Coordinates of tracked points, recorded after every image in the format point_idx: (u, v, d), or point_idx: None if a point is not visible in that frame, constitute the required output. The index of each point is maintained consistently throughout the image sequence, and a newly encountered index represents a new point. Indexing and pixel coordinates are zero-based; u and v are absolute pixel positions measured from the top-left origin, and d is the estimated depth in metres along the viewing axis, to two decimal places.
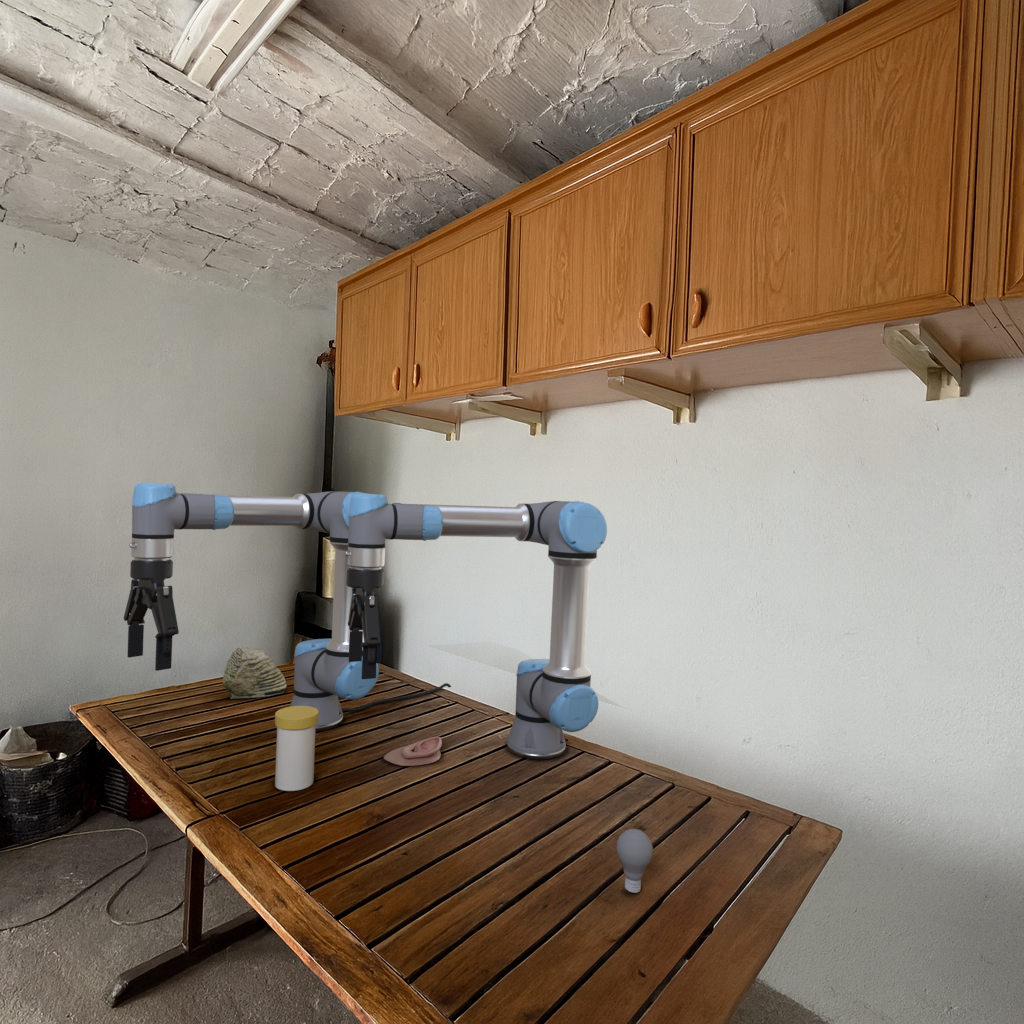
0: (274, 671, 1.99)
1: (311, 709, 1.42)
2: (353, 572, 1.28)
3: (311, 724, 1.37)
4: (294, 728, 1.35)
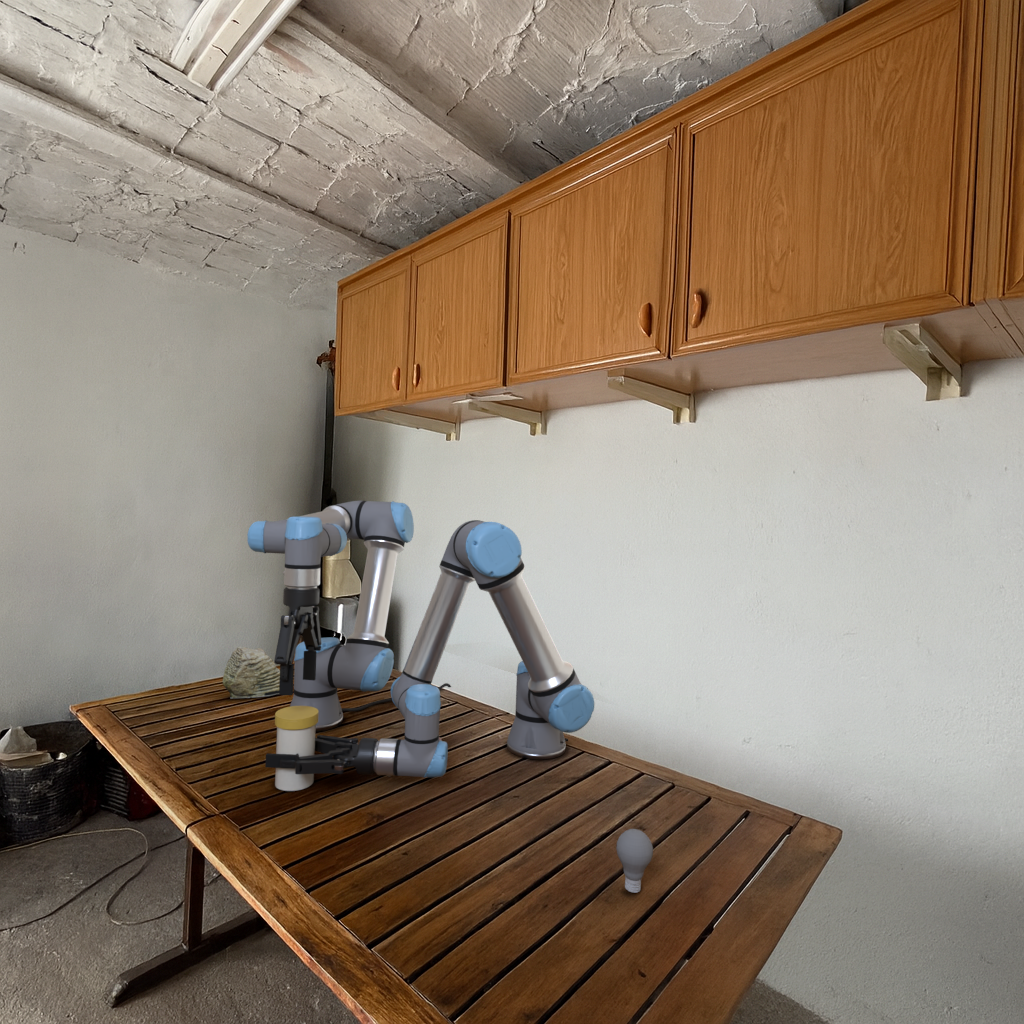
0: (274, 671, 1.99)
1: (311, 709, 1.42)
2: None
3: (311, 724, 1.37)
4: (294, 728, 1.35)
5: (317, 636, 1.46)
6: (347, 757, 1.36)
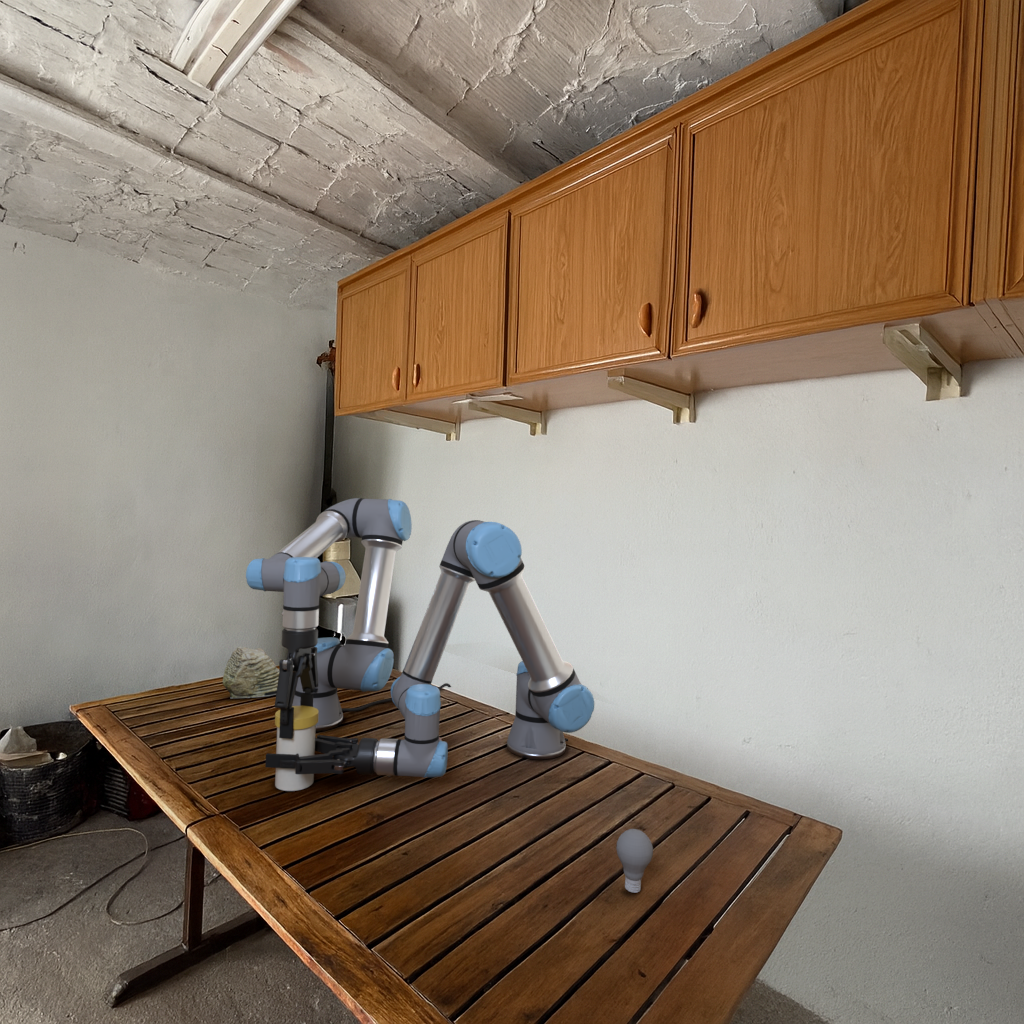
0: (274, 671, 1.99)
1: (311, 709, 1.42)
2: None
3: (311, 724, 1.37)
4: (294, 728, 1.35)
5: (314, 677, 1.46)
6: (347, 757, 1.36)
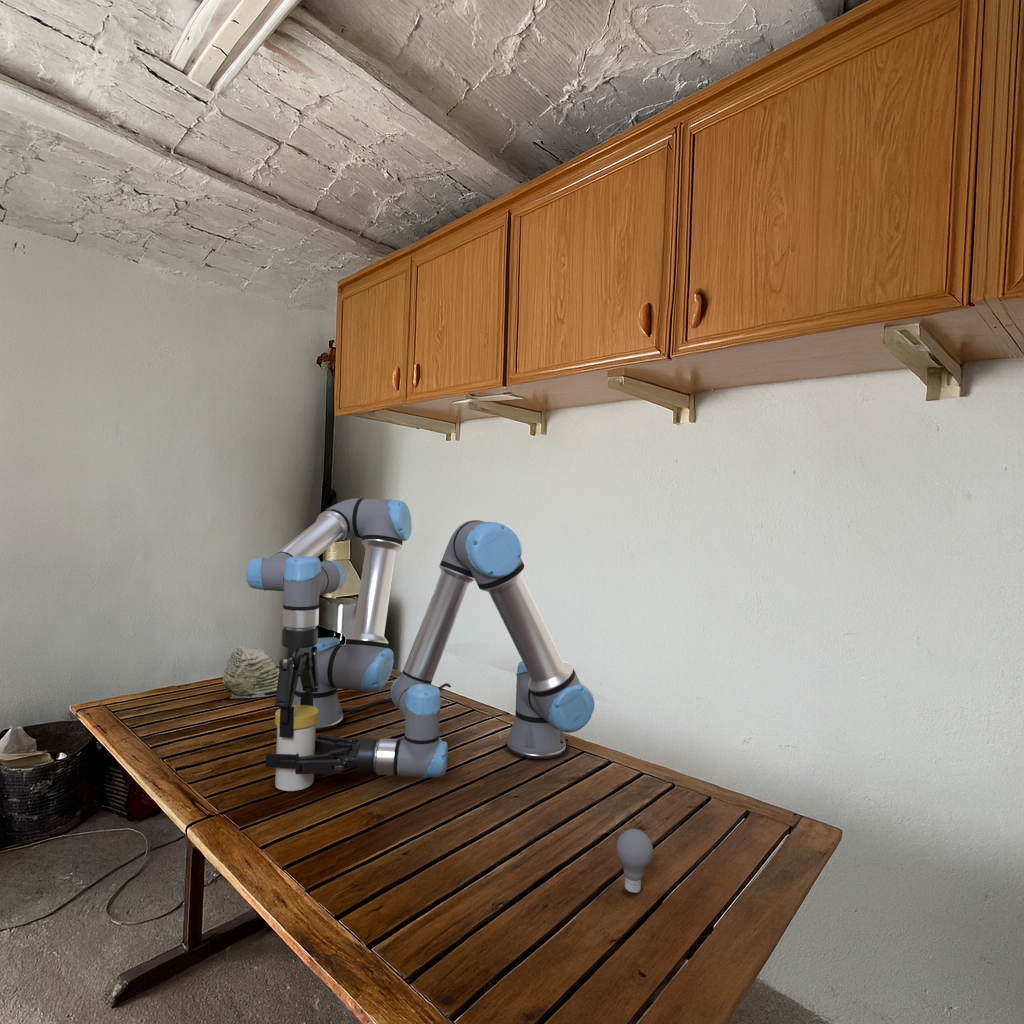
0: (274, 671, 1.99)
1: (298, 706, 1.43)
2: None
3: None
4: (315, 722, 1.38)
5: (314, 677, 1.46)
6: (347, 757, 1.36)
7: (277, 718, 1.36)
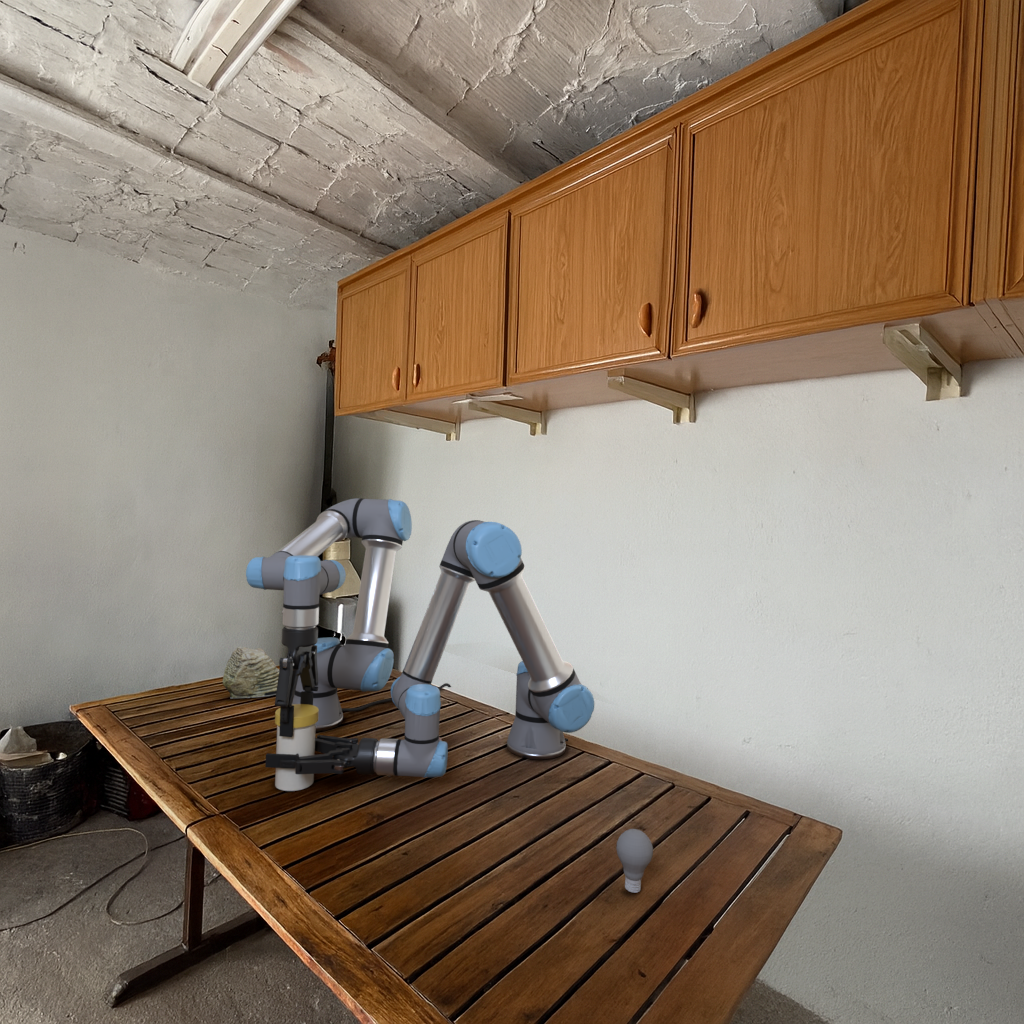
0: (274, 671, 1.99)
1: None
2: None
3: None
4: None
5: (314, 676, 1.46)
6: (347, 757, 1.36)
7: (297, 720, 1.35)
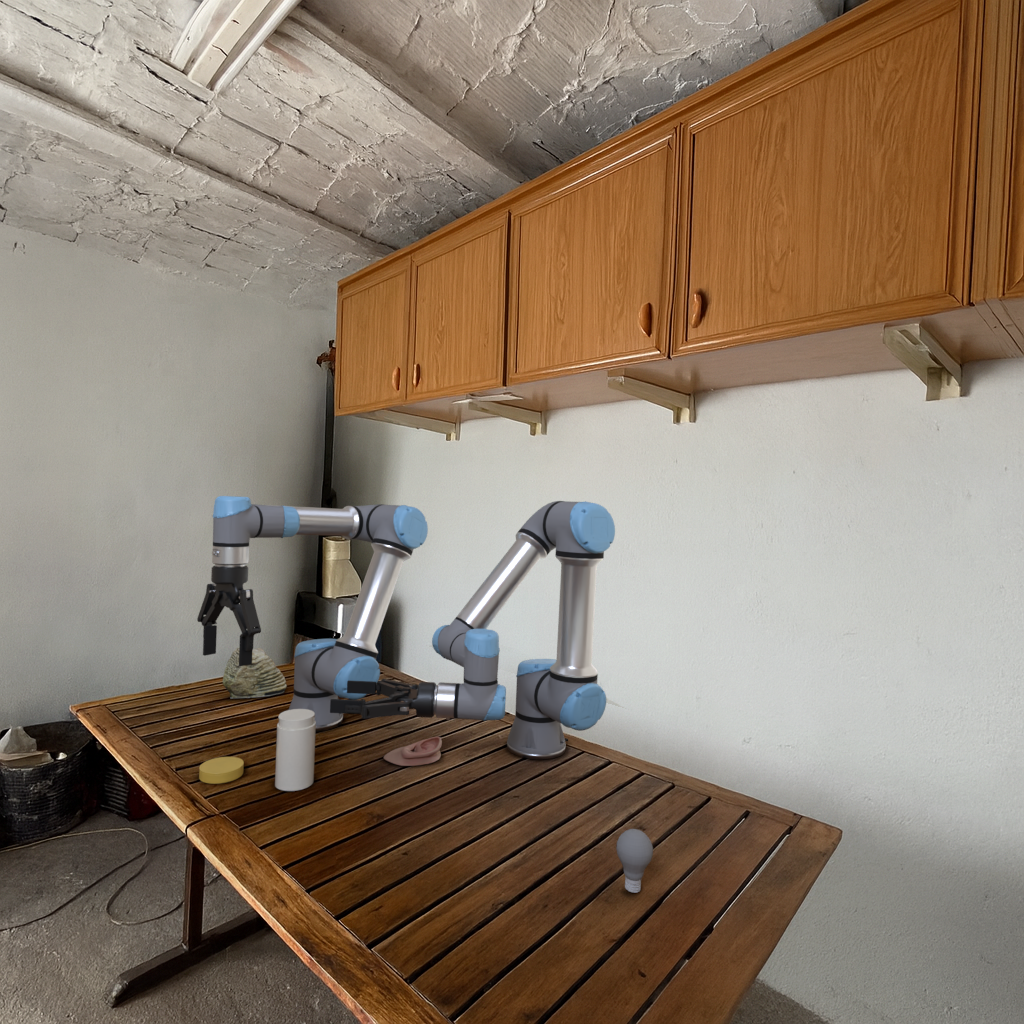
0: (274, 671, 1.99)
1: (207, 769, 1.39)
2: None
3: None
4: None
5: None
6: (408, 699, 1.36)
7: (240, 769, 1.41)
